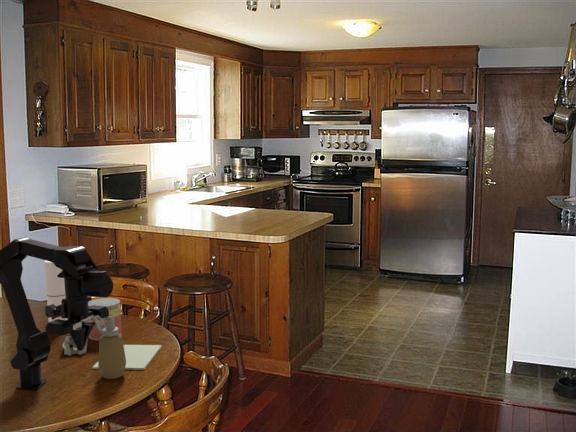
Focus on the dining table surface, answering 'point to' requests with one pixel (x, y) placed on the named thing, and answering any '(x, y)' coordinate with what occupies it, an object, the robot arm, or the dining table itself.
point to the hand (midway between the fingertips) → (80, 350)
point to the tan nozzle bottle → (111, 352)
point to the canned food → (101, 323)
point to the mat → (138, 356)
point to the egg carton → (73, 350)
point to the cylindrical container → (54, 286)
